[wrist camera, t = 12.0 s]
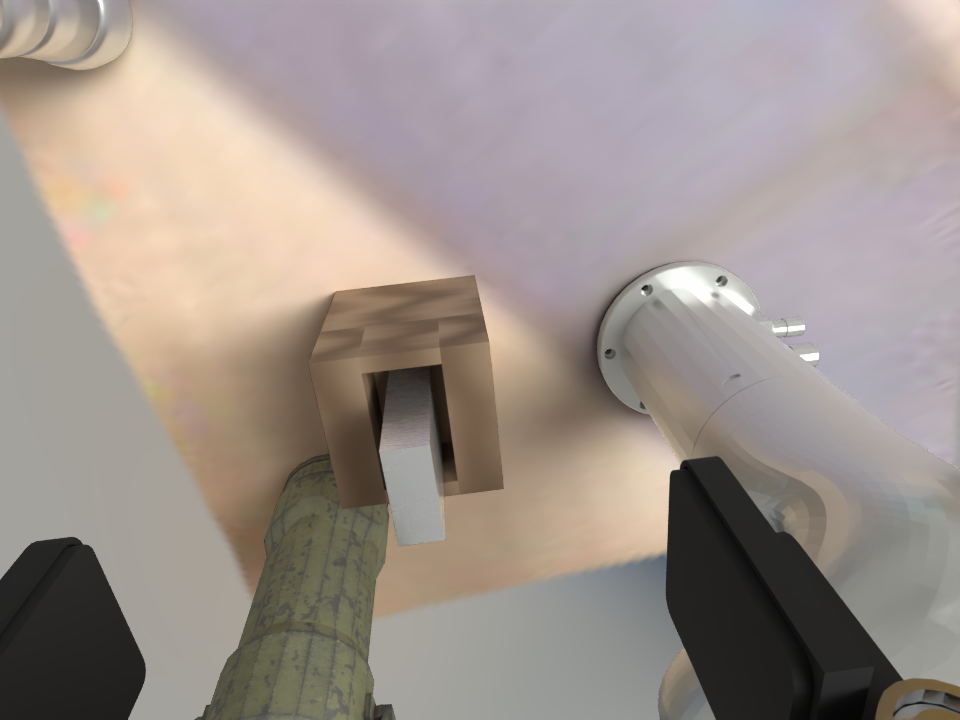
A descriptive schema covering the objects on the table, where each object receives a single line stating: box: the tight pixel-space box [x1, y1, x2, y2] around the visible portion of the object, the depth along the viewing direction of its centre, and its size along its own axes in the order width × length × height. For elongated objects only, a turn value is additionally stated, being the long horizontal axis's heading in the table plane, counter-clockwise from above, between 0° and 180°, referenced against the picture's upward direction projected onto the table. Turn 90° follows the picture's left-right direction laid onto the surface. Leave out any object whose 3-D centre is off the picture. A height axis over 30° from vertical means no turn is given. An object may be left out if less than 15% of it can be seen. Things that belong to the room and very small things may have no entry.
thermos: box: [195, 454, 396, 720], centre depth 38 cm, size 9×12×35 cm
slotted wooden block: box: [308, 275, 504, 509], centre depth 43 cm, size 10×10×12 cm
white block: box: [379, 365, 445, 546], centre depth 37 cm, size 2×6×10 cm, turn 6°
